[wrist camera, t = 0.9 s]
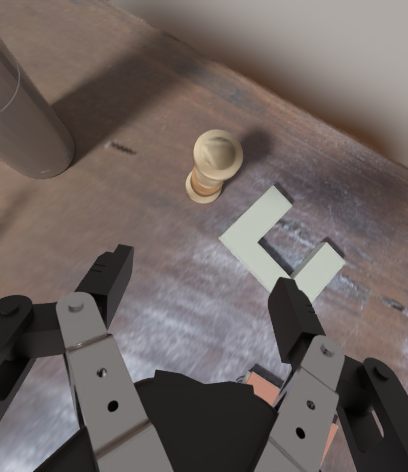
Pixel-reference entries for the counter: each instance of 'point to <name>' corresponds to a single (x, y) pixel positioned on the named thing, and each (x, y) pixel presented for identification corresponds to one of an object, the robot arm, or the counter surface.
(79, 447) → the robot arm
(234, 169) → the bobbin
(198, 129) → the counter surface
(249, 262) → the notched board
